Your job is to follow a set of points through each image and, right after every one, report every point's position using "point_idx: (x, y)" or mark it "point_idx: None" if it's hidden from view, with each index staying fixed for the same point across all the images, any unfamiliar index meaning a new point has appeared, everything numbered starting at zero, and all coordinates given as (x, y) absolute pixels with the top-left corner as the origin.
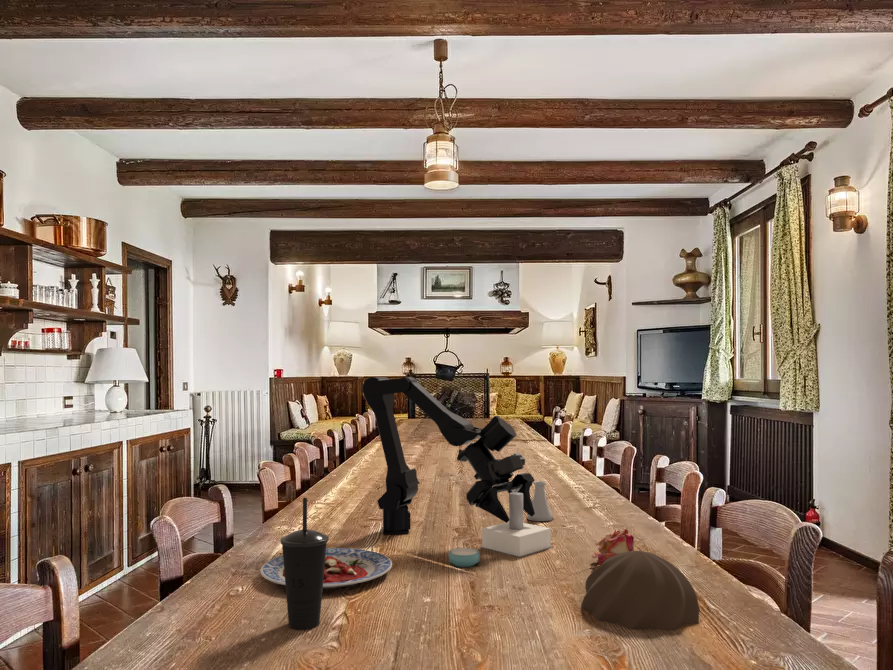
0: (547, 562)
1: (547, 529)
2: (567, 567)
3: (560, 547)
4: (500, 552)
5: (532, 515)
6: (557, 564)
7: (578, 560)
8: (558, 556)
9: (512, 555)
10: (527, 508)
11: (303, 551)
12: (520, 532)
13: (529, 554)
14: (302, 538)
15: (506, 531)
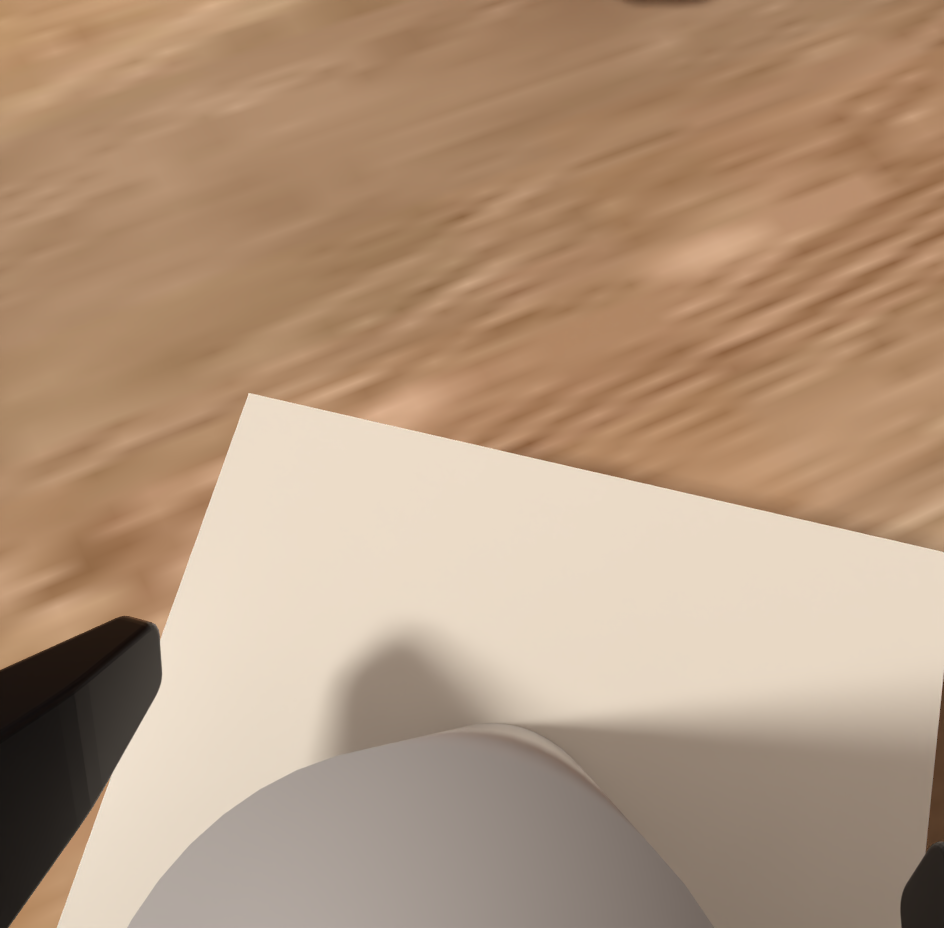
0: (789, 314)
1: (315, 411)
2: (822, 124)
3: (217, 415)
4: None
5: (157, 662)
6: (792, 220)
7: (566, 129)
8: (539, 309)
9: None
10: (34, 806)
11: None
12: (712, 659)
13: None
14: None
15: (785, 903)
